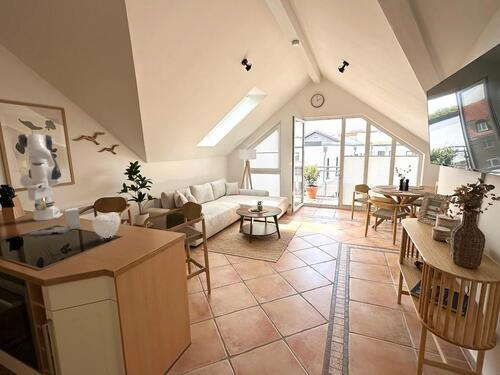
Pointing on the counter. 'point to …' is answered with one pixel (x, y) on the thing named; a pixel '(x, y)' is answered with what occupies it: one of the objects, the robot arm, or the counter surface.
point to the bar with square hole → (50, 231)
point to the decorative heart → (106, 224)
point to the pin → (43, 204)
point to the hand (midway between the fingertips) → (42, 204)
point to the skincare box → (72, 218)
